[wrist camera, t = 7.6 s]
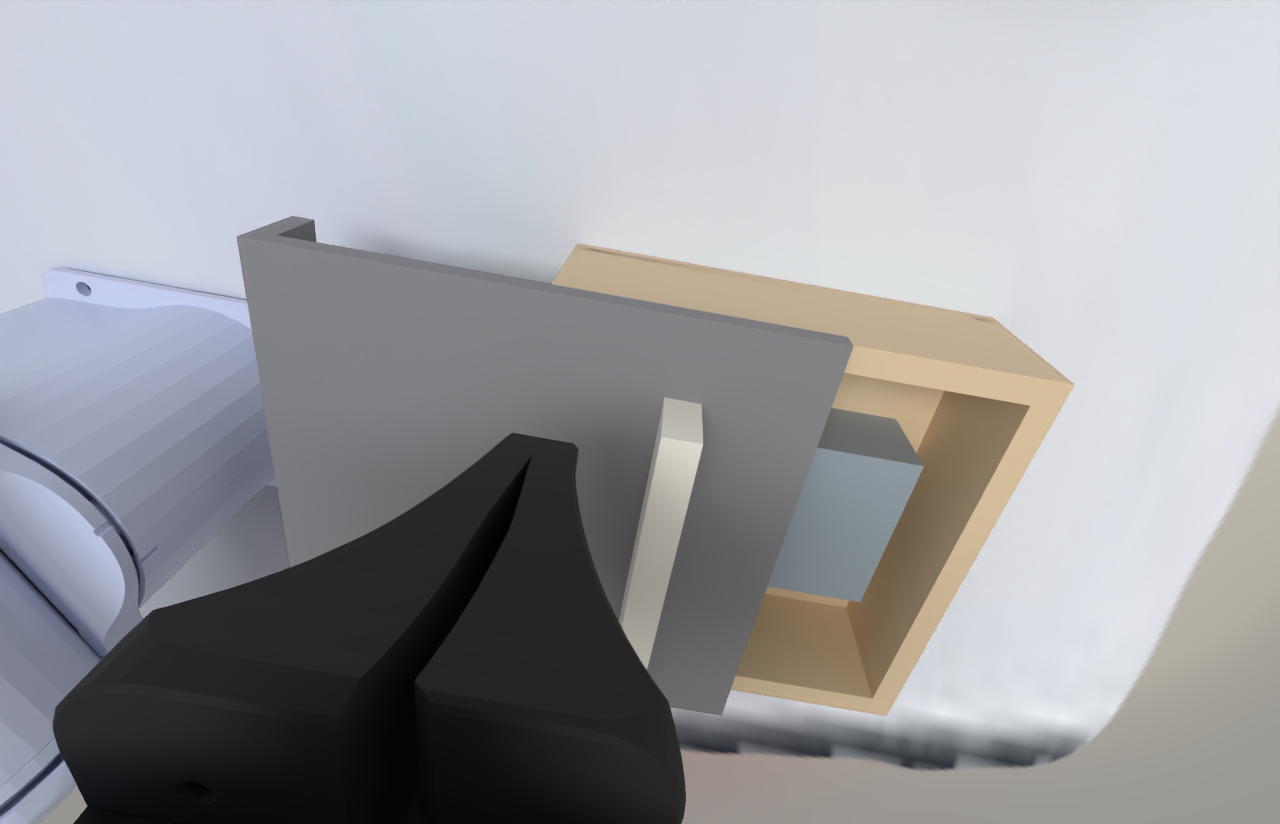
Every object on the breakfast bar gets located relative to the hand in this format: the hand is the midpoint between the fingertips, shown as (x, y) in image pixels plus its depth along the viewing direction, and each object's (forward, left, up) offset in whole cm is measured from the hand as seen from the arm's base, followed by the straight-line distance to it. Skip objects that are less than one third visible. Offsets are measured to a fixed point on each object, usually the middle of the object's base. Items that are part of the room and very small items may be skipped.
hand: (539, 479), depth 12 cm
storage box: (+6, -5, -10) cm, 13 cm away
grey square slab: (-1, -5, -7) cm, 9 cm away
